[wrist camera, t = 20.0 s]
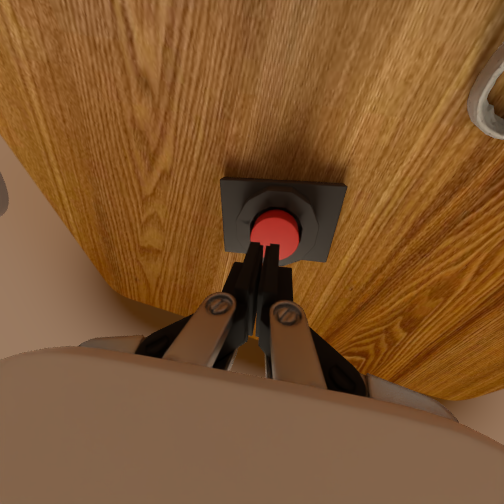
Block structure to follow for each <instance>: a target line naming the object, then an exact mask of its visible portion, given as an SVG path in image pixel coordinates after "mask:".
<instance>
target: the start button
mask: <svg viewBox="0 0 504 504" xmlns="http://www.w3.org/2000/svg"><path fill="white" fill-rule="evenodd" d="M250 240H251V242H260V245H264V248H263V258H264V256H265V250H266V246H270V243H271V244H280V249H279V260H282V259H285V258H287V257H289V256H290V255H292V254H293V253H294V252H295V250H296V249H297V247H298V244H299V231H298V225H297V222H296V220H295V219H294V217H293V216H292V215H290V214H289V213H287V212H285V211H283V210H269V211H266V212H264V213H263V214H261V215H260V216H259V217H258V219H257V220H256V222H255V224H254V227H253V229H252V232H251V236H250Z"/></svg>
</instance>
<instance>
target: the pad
mask: <svg viewBox="0 0 504 504" xmlns="http://www.w3.org/2000/svg"><path fill="white" fill-rule="evenodd" d="M220 187H221V202H222V216H223V231H224V246H225V251H226V252H235V253H245V254H246V253H247V250H248V248H249V245H250V242H251V240H250V236H251V232H252V229H253V227H254V224H255V222H256V220H257V219H258V217H259V216H260V215H261V214H263V213H264V212H266V211H269V210H283V211H285V212H287V213H289V214H290V215H292V216H293V217H294V219H295V220H296V222H297V225H298V231H299V244H298V247H297V249H296V250H295V252H294V253H293V254H292V255H290V256H289V257H287V258H285V259H282V260H279V266H284V265H287V264H290V263H293V262H296V261H300V260H308V261H317V262H326V261H327V257H328V254H329V250H330V247H331V243H332V239H333V236H334V232H335V229H336V225H337V222H338V218H339V215H340V211H341V207H342V204H343V200H344V197H345V193H346V190H347V186H346V185H345V184H344V183H330V182H311V181H292V180H273V179H254V178H234V177H224V178H222V179H220ZM263 261H264V258H263Z"/></svg>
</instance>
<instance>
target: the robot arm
mask: <svg viewBox="0 0 504 504" xmlns="http://www.w3.org/2000/svg"><path fill="white" fill-rule="evenodd" d="M263 248H264V245H260V242H250V245H249V248H248V250H247V253H246V256H245V259H244V262H243V263H241V262H234V264H233V266H232V269H231V271H230V273H229V276H228V278H227V280H226V283H225V285H224V287H223V290H222V292H216V293H213V294H211V295H209V296H207V297H206V298H205V299H204V301H203V302H202V303H201V305H200V306H199V307H198V309H197V310H196V312H195V313H194V314H192V315H190V316H187V317H185V318H183V319H182V320H179V321H177V322H175V323H173V324H171V325H169V326H167V327H165V328H162V329H160V330H158V331H156V332H154V333H152V334H151V335H149V336H148V337H144V336H143V335H134V336H118V337H103V338H94V339H90V340H88V341H86V342H83V343H82V344H80V345H79V346H77V347H75V346H66V347H53V348H44V349H39V350H34V351H30V352H24V353H20V354H17V355H13V356H10V357H7V358H4V359H1V360H0V504H504V445H502V444H500V443H498V442H497V441H495V440H493V439H491V438H489V437H487V436H485V435H483V434H481V433H479V432H477V431H475V430H473V429H471V428H469V427H467V426H465V425H462V424H460V423H459V422H458V420H457V419H456V418H455V417H454V416H453V414H452V413H451V412H450V411H449V410H448V409H447V408H445V407H444V406H443V405H442V404H440V403H439V402H438V401H436V400H434V399H432V398H430V397H428V396H425V395H423V394H420V393H418V392H415V391H412V390H410V389H407V388H405V387H402V386H400V385H397V384H394V383H392V382H389V381H387V380H384V379H381V378H379V377H376V376H374V375H371V374H369V373H367V374H366V375H363V374H361V373H359V372H358V371H357V370H356V368H355V367H354V366H353V365H352V364H350V363H349V362H348V361H347V360H346V359H345V358H344V357H343V356H342V355H340V354H339V353H338V352H337V351H336V350H335V349H334V348H333V347H331V346H330V345H329V344H328V343H327V342H326V341H325V340H324V339H322V338H321V337H320V336H319V335H318V334H317V333H316V332H315V331H313V330H312V329H311V328H310V327H309V325H308V321H307V318H306V315H305V312H304V310H303V309H302V308H301V307H300V306H299V305H298V304H296V303H295V302H293V287H292V268H287V267H278V266H279V249H280V244H271V243H270V246H266V250H265V256H264V261H263ZM262 264H263V266H262ZM256 312H257V317H256ZM255 318H256V336H257V337H259V346H260V348H261V349H262V350H263V352H264V353H265V369H266V378H263V377H258V376H253V375H247V374H242V373H236V372H231V371H230V369H231V367H232V364H233V361H234V359H235V356H236V354H237V350H238V347H239V346H241V345H242V344H244V343H245V342H247V340H248V335H250V336H252V335H253V329H254V324H255Z"/></svg>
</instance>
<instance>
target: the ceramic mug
mask: <svg viewBox="0 0 504 504" xmlns="http://www.w3.org/2000/svg"><path fill="white" fill-rule="evenodd" d="M503 71H504V42H503V43H502V44H501V45H500V46H499V48H498V49H497V50H496V51H495V52H494V54H493V55H492V56H491V58H490V59H489V61H488V62H487V64H486V65H485V67H484V68H483V70H482V71H481V72H480V74H479V76H478V77H477V79H476V81H475V83H474V85H473V86H472V89H471V91H470V94H469V97H468V103H467V110H468V114H469V116H470V119H471V121H472V122H473V123H474V124H475V125H476V126H477V127H478V128H479V129H480V130H482V131H483V132H484V133H485V134H487V135H489V136H491V137H493V138H497V139H503V140H504V119H502V118H501V117H499V116H497V115H496V114H495V113H494V106H493V105H490V104H488V101H487V97H488V94H489V92H490V90H491V89H492V87H493V86H494V84H495V82H496V79H497V78H498V77H499V76H500V75H501V73H502V72H503Z"/></svg>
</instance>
